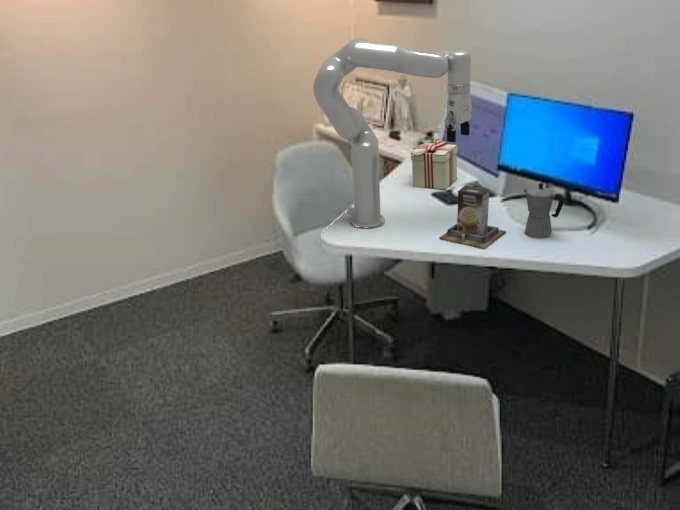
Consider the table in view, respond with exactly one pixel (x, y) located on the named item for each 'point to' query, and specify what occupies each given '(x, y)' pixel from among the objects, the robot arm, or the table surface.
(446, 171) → the gift box
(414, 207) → the table surface
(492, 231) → the tray
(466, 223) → the coffee box
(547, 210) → the coffeepot
